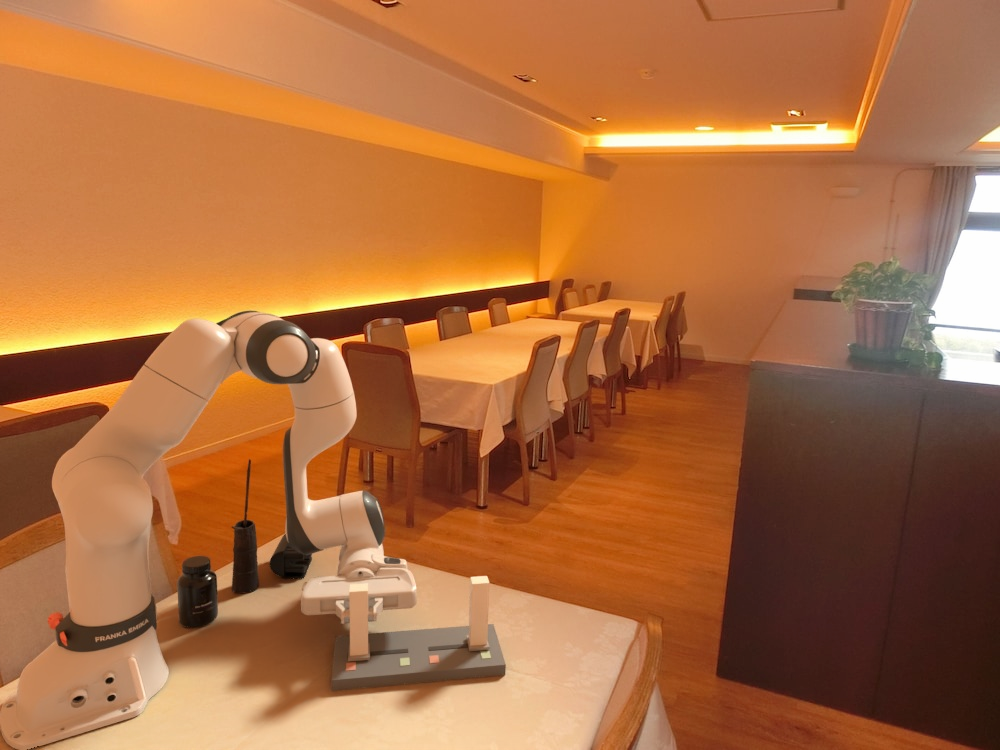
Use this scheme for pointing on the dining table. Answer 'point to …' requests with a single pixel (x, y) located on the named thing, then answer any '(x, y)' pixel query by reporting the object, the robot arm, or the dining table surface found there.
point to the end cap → (289, 561)
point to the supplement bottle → (197, 593)
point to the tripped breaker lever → (358, 623)
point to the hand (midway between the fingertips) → (358, 619)
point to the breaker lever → (478, 614)
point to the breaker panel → (416, 658)
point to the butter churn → (245, 552)
